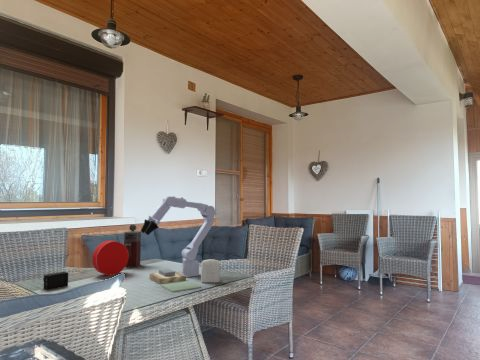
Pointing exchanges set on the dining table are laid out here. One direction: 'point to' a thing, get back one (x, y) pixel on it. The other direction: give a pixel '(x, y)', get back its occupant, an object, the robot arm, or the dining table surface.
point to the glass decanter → (133, 246)
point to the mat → (180, 286)
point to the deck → (167, 278)
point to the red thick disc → (110, 257)
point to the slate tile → (167, 272)
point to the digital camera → (55, 280)
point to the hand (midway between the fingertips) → (144, 232)
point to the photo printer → (210, 271)
